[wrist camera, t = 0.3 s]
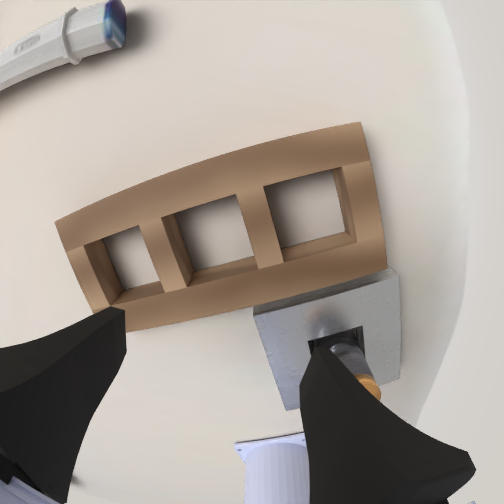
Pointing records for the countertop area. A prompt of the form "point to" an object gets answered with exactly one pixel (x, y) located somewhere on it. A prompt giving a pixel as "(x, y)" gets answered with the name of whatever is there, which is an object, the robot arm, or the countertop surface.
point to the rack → (256, 221)
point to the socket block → (333, 328)
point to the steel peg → (350, 357)
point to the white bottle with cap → (64, 41)
